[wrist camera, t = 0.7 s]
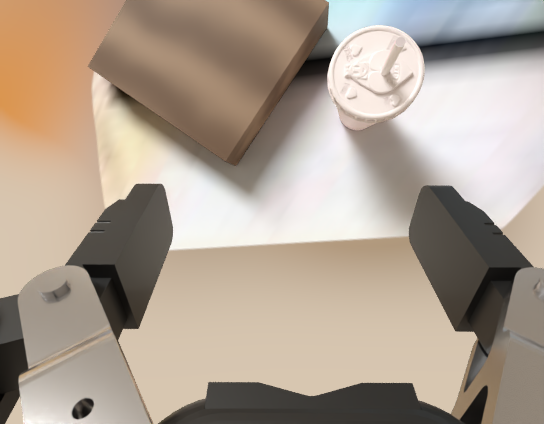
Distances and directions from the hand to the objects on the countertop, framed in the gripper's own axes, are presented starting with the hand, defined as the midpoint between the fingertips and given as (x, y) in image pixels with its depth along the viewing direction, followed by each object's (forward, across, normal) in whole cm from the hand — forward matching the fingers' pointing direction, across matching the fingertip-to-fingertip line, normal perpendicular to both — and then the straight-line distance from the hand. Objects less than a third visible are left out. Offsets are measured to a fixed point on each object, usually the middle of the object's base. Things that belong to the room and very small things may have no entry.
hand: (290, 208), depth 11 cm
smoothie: (+23, -8, +5) cm, 25 cm away
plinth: (+28, +6, 0) cm, 29 cm away
